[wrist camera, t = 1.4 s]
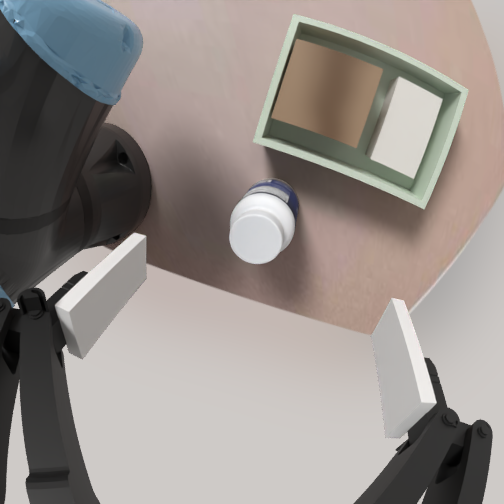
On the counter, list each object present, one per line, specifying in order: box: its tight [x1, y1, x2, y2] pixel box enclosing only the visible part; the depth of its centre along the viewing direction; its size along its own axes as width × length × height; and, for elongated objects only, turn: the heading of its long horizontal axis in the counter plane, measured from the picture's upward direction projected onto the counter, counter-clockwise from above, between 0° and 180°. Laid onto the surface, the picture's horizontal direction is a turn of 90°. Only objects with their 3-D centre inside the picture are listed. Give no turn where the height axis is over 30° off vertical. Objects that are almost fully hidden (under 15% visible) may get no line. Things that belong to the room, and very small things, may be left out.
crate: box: [253, 14, 468, 209], centre depth 23 cm, size 16×12×4 cm
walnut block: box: [271, 39, 383, 148], centre depth 22 cm, size 7×7×5 cm
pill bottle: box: [229, 178, 299, 264], centre depth 26 cm, size 5×5×10 cm
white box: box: [365, 77, 443, 179], centre depth 23 cm, size 4×8×3 cm, turn 163°
